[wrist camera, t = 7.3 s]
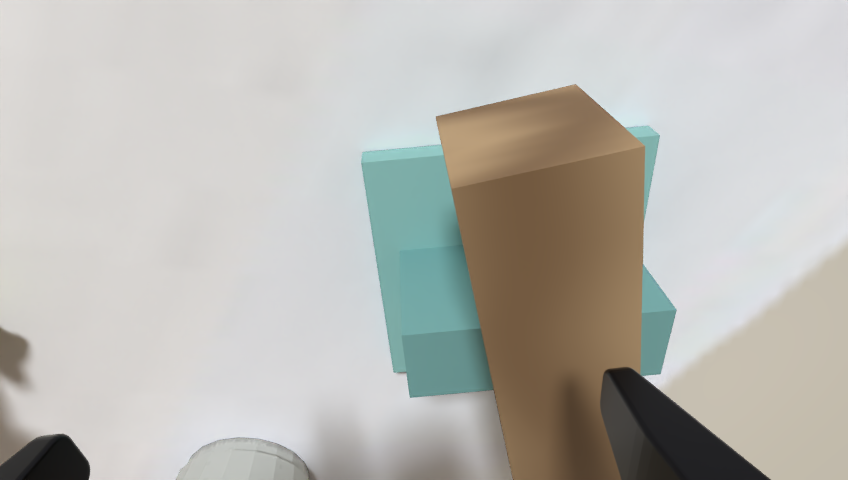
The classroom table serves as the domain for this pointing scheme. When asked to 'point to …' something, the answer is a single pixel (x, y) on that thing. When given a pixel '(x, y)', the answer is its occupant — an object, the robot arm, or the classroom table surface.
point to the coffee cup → (244, 462)
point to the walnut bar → (551, 267)
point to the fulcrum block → (455, 274)
